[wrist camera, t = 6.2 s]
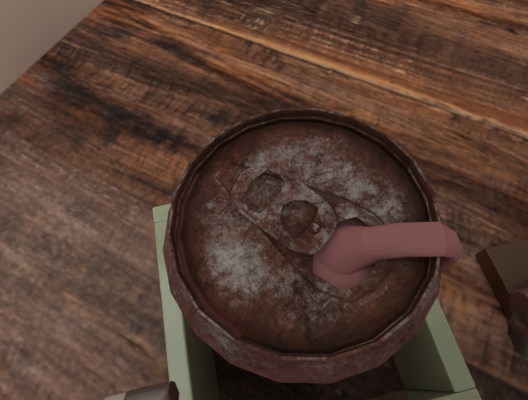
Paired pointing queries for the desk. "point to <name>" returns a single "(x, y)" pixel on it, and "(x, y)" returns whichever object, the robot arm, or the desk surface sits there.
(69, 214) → the desk surface
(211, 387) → the holder
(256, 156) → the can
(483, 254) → the post
